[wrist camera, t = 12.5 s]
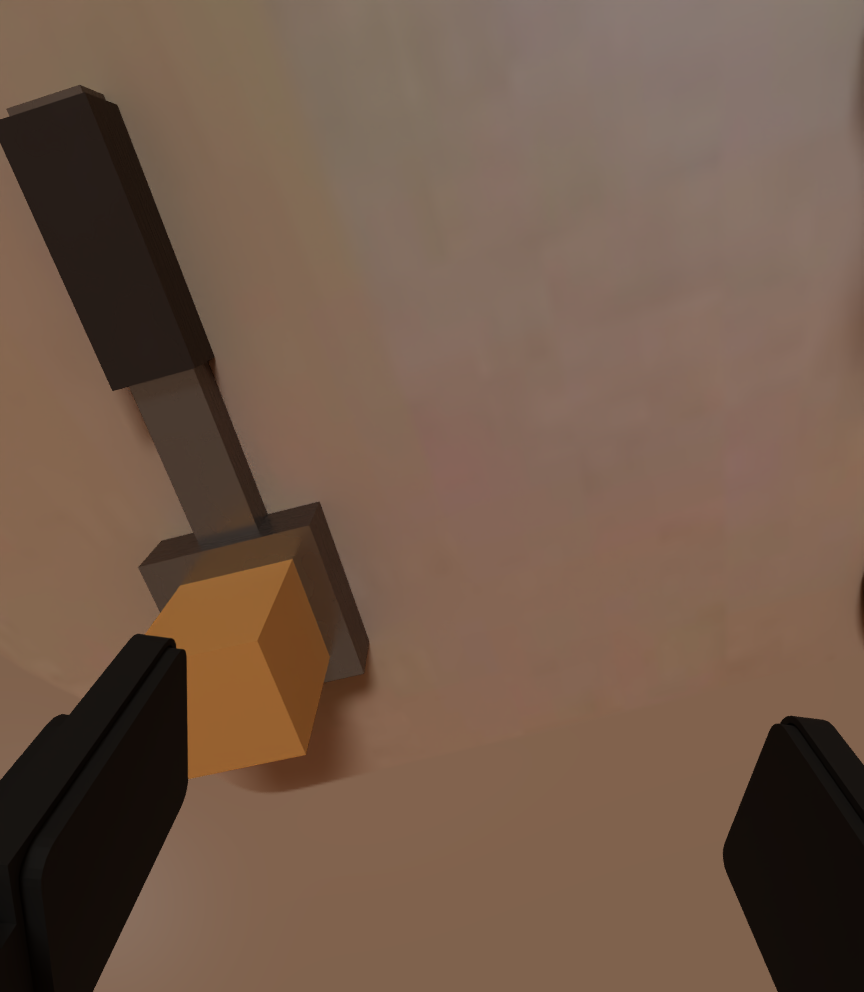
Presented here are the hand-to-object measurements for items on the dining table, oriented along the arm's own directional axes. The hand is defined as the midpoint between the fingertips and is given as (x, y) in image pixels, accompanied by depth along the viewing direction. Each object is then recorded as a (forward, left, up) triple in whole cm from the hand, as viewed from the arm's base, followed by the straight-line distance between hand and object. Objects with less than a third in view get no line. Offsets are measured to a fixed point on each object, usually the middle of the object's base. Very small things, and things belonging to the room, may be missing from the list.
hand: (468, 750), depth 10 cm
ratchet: (+10, +7, -24) cm, 27 cm away
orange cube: (+3, +15, -21) cm, 26 cm away
